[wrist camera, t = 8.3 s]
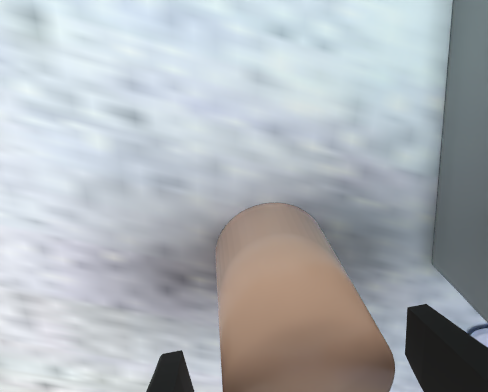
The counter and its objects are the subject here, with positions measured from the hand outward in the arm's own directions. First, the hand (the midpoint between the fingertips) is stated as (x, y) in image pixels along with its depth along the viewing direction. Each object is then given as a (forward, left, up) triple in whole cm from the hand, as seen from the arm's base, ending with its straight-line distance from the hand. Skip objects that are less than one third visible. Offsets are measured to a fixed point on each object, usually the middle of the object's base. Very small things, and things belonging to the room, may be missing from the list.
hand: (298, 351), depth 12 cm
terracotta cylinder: (0, 0, -6) cm, 6 cm away
